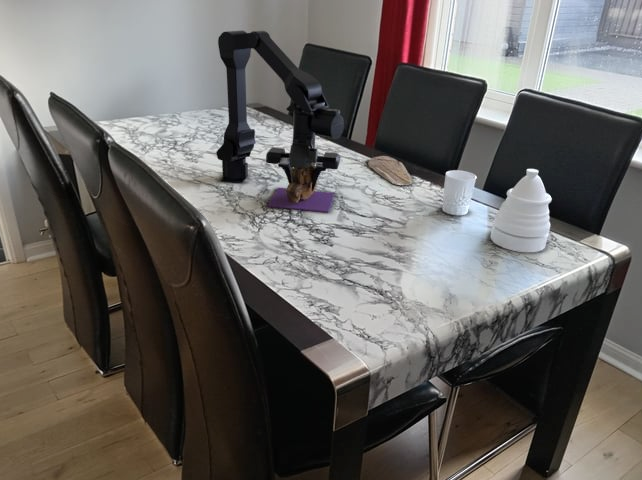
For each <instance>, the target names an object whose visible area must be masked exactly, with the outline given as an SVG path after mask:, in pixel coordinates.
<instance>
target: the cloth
mask: <svg viewBox="0 0 642 480" xmlns="http://www.w3.org/2000/svg"><path fill="white" fill-rule="evenodd" d="M286 189H287V187H285V188H284V187H278V188H277V189H276V190H275V192H274V194H273V196H272V197H271V199H270V200H269V202H268V204H267V208H275V209H287V210H296V211H305V212H306V211H308V212H316V213H317V212H318V213H327V214H328V213H329V211H330V208H331V205H332V203H333V200H334V196H335V192H328V191H318V190H317V191H316V190H315V191H314V192H313V194H312V195H311V196H310V197H309V198H308V199H305V200H304V199H299V201H298V202H297V203H294V202H292V203H291V202H288V197H287V193H286Z"/></svg>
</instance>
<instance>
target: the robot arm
mask: <svg viewBox="0 0 642 480" xmlns="http://www.w3.org/2000/svg"><path fill="white" fill-rule="evenodd" d="M217 46H218V52H219V57H220V60H221V62H222V63H223V64H224V66H225V69H226V70H225V71H226V88H227V89H226V91H227V109H228V123H227V126H226V128H225V130H224V133H223V142H222V145H221V146H220V147H219V148H218V149H217V150H216V151H215V154H216V158H217V160H219V161H221V168H222V169H221V171H222V172H221V173H222V177H221V178H220V182H229V183H230V182H231V183H238V184H239V183H240V184H242V183H244V182H245V180H246V179H247V178H248V177H249V163H248V162H247V158H250V157H251V153H252V151H253V150H254V148H255V145H256V144H257V143H256V136H255V135H256V129H254V128H251V127H250V125H249V123H248V117H247V116H248V115H247V110H248V109H247V81H246V68H247V65H248V62H249V61H250V58H251V55H252V49H253V50H254V51H255V52H256V53H257V54H258V55H259V57H261V58H262V60H263V61H264V62H265V63H266V64H267V65H268V66H269V68H270V69H271V70H272V71H273V72H274V73H275V74H276V75H277V76H278V78H279V79H280V80H281V81H282V83H283V85H284V91H285V92H286V94H287V95H288V97H289V98H290V100H291V101H292V103H290V105H288V106H287V107H286V111H287V112H292V113H293V121H292V124H293V125H292V142H291V145H290V149H289V152H286V149H285V148H283V147H274V146H272V147H270V148H269V150H267V152H266V155H265V163H266V164H270V165H277V167H278V168H281V169H282V170H283V172H284V174H285V176H286V179H287V182H288V185H289V184H290V183H292V178H291V172H292V168H294V167H301V168H308V166H309V163H315V168H314V175H313V181H312V191H313V190H314V187H315V185H316V182H317V183H318V179H319V177H320V175H321V173H322V172H326V171H327V170H338V168H339V166H340V163H341V155H340V154H339V153H338V152H328V151H325V152H324V154H323V155H319V154H318V149H317V148H316V135H317V136H321V137H325V138H329V139H333V140H338V139H339V138H340V137H342V135H343V132H344V129H345V122H344V118H343V116H342V115H341V110H340V109H337V108H335V109H332V108H330V105H329V103H328V101H327V99H326V97H325V95H324V92H323V91H322V85H321V83H320V81H318V79H316V78H315V77H314V76H312V74H310V73H308V72H306V71H304V70H302V69H300V68H299V67H298V66H296V64H295V63H294V62H293V61H292V60H291V59H290V58H289V56H288V55H287V54H286V53H285V52H284V51H283V50H282V49H281V47H279V45H278V44H277V43H276V42H275V41H274V40H273V39H272V38H271V36H270V34H269V33H268V32H267V31H266V30H254V31H251V32H246V31H245V30H229V31H228V30H227V31H223V32H222V33H221V34H220V35H219V36H218V39H217Z"/></svg>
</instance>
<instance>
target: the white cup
mask: <svg viewBox="0 0 642 480" xmlns="http://www.w3.org/2000/svg"><path fill="white" fill-rule="evenodd" d="M476 180H477V175H476V174H475V173H473V172H470V171H466V170H461V169H459V170H458V169H455V170H454V169H453V170H448V171H446V172H445V176H444V185H443V193H442V194H443V195H442V208H441V209H442V212H443V213H445V214H448V215H451V216H464V215H467V214H468V212H469V209H470V204H471V201H472V197H473V195H474V189H475V185H476Z"/></svg>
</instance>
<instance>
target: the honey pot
mask: <svg viewBox="0 0 642 480" xmlns="http://www.w3.org/2000/svg"><path fill="white" fill-rule="evenodd" d="M525 173H526V175H524V176H523V177H522V178H521V179H520V180H519V181H518V182H517V183H516V184H515V185H514V187H512V188H509V189H508V190H507V191H506V196H507V197H506V199H505V200H504V201H502V203H501V206H500V207H499V209H498V211H497V213H495V216H494V218H493V219H494V220H493V223H492V227H491V232H490V240H491V242H493V243H494V244H495V245H497V246H499V247H501V248H503V249H506V250H509V251H512V252H513V251H514V252H519V253H539V252H541V251H543V250H544V249H545V248H546V245H547V242H548V237H549V233H550V229H551V222H550V219H551V217H550V209H549V204H551V203H552V200H553V198H552V197H551V195H550V194H549V193H547V191H546V188H545V186H544V183H543V180H542V179H541V177H540V176H539V169H536V168H527V169H526V172H525Z"/></svg>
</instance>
